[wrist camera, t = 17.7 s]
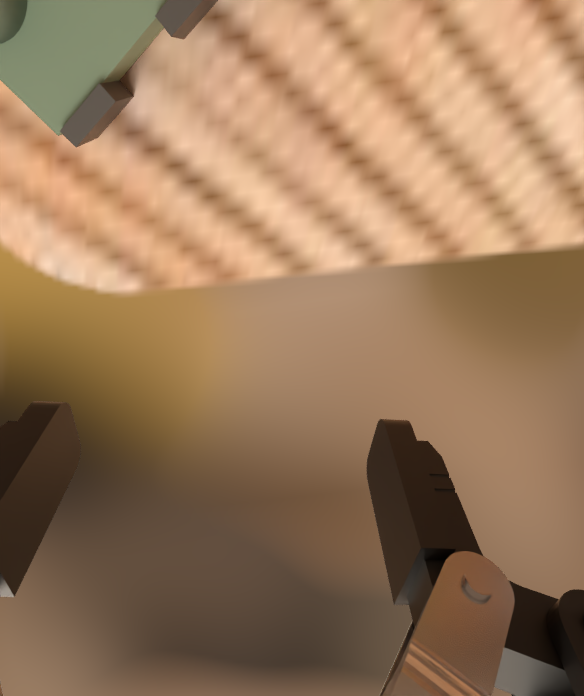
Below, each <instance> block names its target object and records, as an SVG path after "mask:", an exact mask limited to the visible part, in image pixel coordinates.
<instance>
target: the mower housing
mask: <svg viewBox="0 0 584 696" xmlns="http://www.w3.org/2000/svg"><path fill="white" fill-rule="evenodd" d="M217 1H218V0H0V80H1V81H2V82H3V83H4V84H5V85H6V86H7V87H8V88H9V89H10V90H11V91H12V92H13V93H14V94H15V95H16V96H18V97H19V98H20V99H21V100H22V101H23V102H24V103H25V104H26V105H27V106H28V107H29V108H30V109H31V110H32V111H33V112H34V113H35V114H36V115H37V116H38V117H39V118H40V119H41V120H42V121H43V122H44V123H46V124H47V125H48V126H49V127H50V128H51V129H52V130H53V131H54V132H55V133H56V134H57V135H58V136H59V135H62V134H63V135H64V136H65V137H66V138H67V139H68V140H69V141H70V142H71V143H72V144H73V145H74V146H75V147H78V146H80V145H83V144H85V143H87V142H89V141H92V140H94V139H96V138H98V137H99V136H100V135H101V133H102V132H103V131H104V130H105V129H106V128H107V127H108V125H109V124H110V123H111V122H112V121H113V120H114V119H115V117H116V116H117V115H118V114H119V113H120V112H121V111H122V109H123V108H124V107H125V106H126V105H127V104H128V103H129V101H130V100H131V99H132V98H133V97H134V96H133V95H132V94H131V93H130V92H129V91H128V90H127V88H126V87H125V86H124V85H123V84H122V83H121V82H120V81H119V80H120V79H121V78H122V77H123V76H124V75H125V73H126V72H127V71H128V70H129V69H130V67H131V66H132V65H133V64H134V63H135V62H136V60H137V59H138V58H139V57H140V56H141V54H142V53H143V52H144V51H145V50H146V48H147V47H148V46H149V45H150V44H151V43H152V41H153V40H154V39H155V38H156V37H157V35H158V34H159V33H160V32H161V31H162V30H163V28H165V29H166V31H167V32H168V33H169V34H170V36H171V37H175V38H180V39H185V37H186V36H187V35H188V34H189V33H190V32H191V31H192V29H193V28H194V27H195V26H196V25H197V24H198V23H199V21H200V20H201V19H202V18H203V17H204V16H205V15H206V13H207V12H208V11H209V10H210V9H211V8H212V7H213V5H214V4H215V3H216V2H217Z"/></svg>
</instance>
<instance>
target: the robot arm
mask: <svg viewBox="0 0 584 696" xmlns="http://www.w3.org/2000/svg"><path fill="white" fill-rule="evenodd" d="M80 455H81V444H80V440H79V437H78V433H77V429H76V426H75V422H74V418H73V414H72V411H71V407H70V406H69V404H68V403H63V402H44V401H43V402H42V401H34V402H32V403H31V404H30V405H29V406H28V408H27V409H26V410H25V412H24V413H23V415H22V416H21V417H20V419H19V420H18V421H8V422H6V423H5V424H4V425H2V426H1V427H0V597H14V596H15V594H16V592H17V590H18V588H19V586H20V584H21V582H22V580H23V578H24V576H25V574H26V572H27V570H28V568H29V566H30V564H31V562H32V559H33V558H34V555H35V553H36V551H37V549H38V547H39V545H40V543H41V541H42V539H43V537H44V535H45V533H46V531H47V529H48V527H49V525H50V523H51V521H52V518H53V517H54V514H55V513H56V510H57V508H58V506H59V504H60V502H61V500H62V498H63V496H64V494H65V492H66V490H67V488H68V485H69V484H70V482H71V480H72V478H73V476H74V474H75V472H76V469H77V467H78V464H79V460H80ZM367 480H368V484H369V489H370V494H371V499H372V504H373V508H374V513H375V517H376V522H377V527H378V531H379V536H380V541H381V546H382V550H383V555H384V559H385V565H386V569H387V573H388V579H389V583H390V588H391V593H392V597H393V602H394V605H409V607H410V611H411V615H412V620H413V621H412V623H411V624H410V627H409V629H408V631H407V634H406V636H405V638H404V640H403V643H402V645H401V647H400V649H399V652H398V654H397V656H396V659H395V661H394V663H393V665H392V668H391V670H390V673H389V675H388V677H387V679H386V681H385V684H384V686H383V688H382V690H381V693H380V695H379V696H492V693H493V689H494V687H496V688H498V689H500V690H503V691H506V692H508V693H510V694H511V695H512V696H584V590H570V591H568V592H566V593H564V594H563V596H562V597H561V598H560V599H556V598H553V597H550V596H547V595H544V594H542V593H538V592H536V591H533V590H530V589H527V588H524V587H522V586H519V585H517V584H515V583H513V582H511V581H509V580H508V579H507V577H506V576H505V574H504V573H503V572H502V571H501V570H500V568H499V567H497V566H496V565H495V564H494V563H493V562H492V561H490V560H489V559H487V558H486V557H484V556H483V554H482V553H481V550H480V549H479V546H478V544H477V541H476V539H475V536H474V534H473V532H472V529H471V527H470V524H469V522H468V519H467V517H466V514H465V512H464V510H463V507H462V505H461V502H460V500H459V497H458V495H457V493H455V488H454V485H453V483H452V481H451V478H449V473H448V471H447V468H446V466H445V464H444V461H443V459H442V457H441V455H440V454H439V453H438V452H437V451H436V450H435V449H434V448H433V446H432V445H431V444H430V443H429V442H428V441H417V439H416V437H415V434H414V431H413V428H412V426H411V424H410V422H409V421H407V420H405V421H404V420H386V419H385V420H384V419H380V420H379V421H378V424H377V427H376V430H375V434H374V437H373V441H372V444H371V448H370V452H369V455H368V459H367ZM0 696H3V693H2V687H1V683H0Z"/></svg>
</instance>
